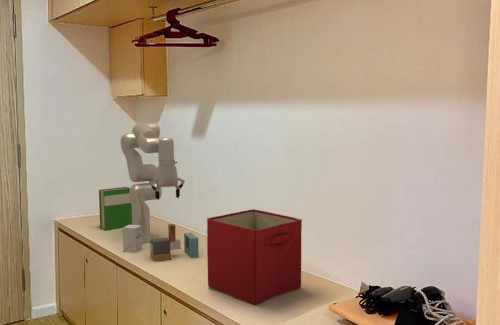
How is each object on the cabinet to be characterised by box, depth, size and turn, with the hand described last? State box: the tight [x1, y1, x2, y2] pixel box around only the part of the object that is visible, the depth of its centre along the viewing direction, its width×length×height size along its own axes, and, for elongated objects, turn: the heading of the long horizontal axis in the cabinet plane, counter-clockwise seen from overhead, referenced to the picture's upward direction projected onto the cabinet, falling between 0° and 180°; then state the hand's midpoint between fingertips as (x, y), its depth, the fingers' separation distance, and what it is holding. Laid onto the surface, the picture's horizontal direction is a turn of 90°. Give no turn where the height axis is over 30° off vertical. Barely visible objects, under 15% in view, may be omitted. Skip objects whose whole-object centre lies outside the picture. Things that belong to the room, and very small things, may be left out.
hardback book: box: [98, 186, 132, 232], centre depth 316 cm, size 18×7×24 cm, turn 130°
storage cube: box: [206, 208, 303, 306], centre depth 207 cm, size 32×28×29 cm
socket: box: [183, 232, 199, 259], centre depth 257 cm, size 12×4×10 cm, turn 23°
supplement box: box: [122, 225, 143, 253], centre depth 265 cm, size 7×7×13 cm
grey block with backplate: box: [149, 236, 172, 263], centre depth 251 cm, size 10×8×9 cm
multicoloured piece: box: [149, 223, 182, 252], centre depth 251 cm, size 4×14×12 cm, turn 113°
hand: (167, 198), depth 252 cm, fingers open, 9 cm apart
